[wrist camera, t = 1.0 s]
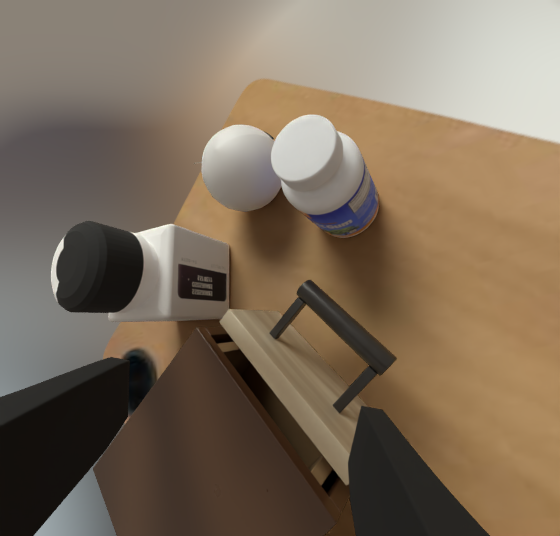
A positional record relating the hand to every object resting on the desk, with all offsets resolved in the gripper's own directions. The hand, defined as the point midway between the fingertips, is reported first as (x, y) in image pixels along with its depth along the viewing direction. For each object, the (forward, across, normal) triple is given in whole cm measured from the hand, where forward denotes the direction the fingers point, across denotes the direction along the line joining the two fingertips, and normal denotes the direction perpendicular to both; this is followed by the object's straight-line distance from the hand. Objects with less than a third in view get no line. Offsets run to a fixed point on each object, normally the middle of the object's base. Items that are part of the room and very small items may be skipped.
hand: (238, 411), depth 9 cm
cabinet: (+13, 0, +14) cm, 19 cm away
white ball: (+23, +5, -8) cm, 25 cm away
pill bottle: (+18, -4, -7) cm, 20 cm away
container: (+21, +9, +3) cm, 23 cm away
